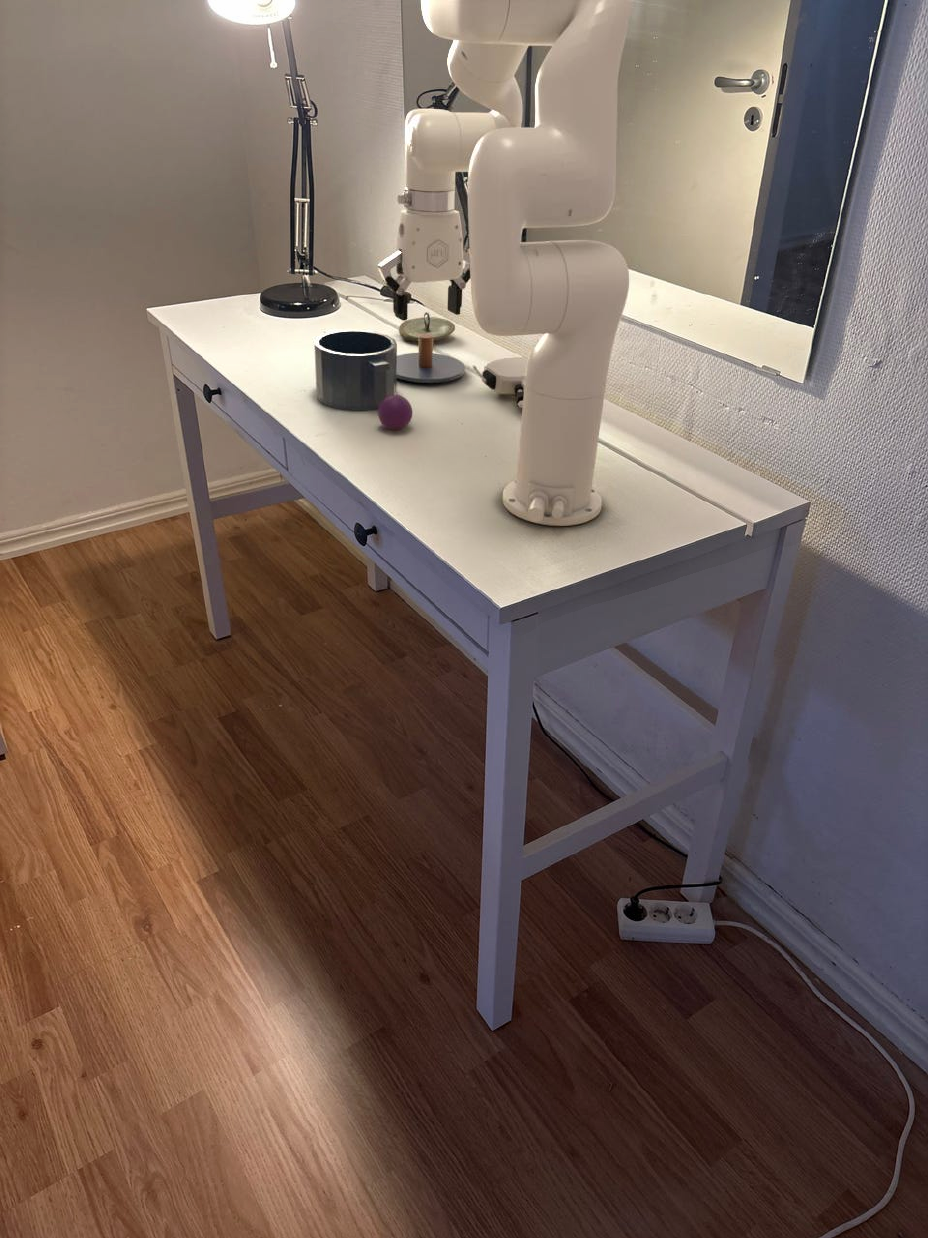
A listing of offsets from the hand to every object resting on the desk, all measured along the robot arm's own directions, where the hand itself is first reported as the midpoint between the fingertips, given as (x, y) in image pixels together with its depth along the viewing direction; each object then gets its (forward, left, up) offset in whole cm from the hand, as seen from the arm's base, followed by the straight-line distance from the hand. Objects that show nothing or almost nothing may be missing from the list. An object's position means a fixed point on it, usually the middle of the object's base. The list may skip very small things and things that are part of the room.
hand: (427, 315), depth 150 cm
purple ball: (-25, -1, -7) cm, 26 cm away
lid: (+19, +4, -10) cm, 22 cm away
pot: (-14, +8, -10) cm, 19 cm away
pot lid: (+1, 0, -9) cm, 9 cm away
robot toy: (-7, -18, -10) cm, 21 cm away
